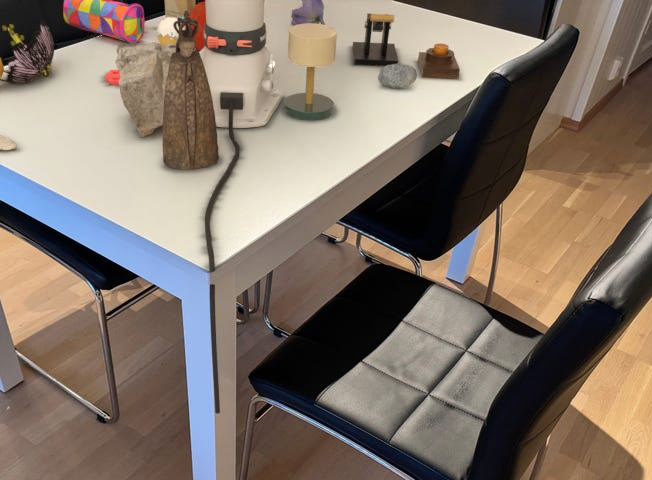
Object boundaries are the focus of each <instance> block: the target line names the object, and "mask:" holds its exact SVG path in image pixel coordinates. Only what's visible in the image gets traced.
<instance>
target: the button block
mask: <svg viewBox="0 0 652 480" xmlns="http://www.w3.org/2000/svg"><path fill="white" fill-rule="evenodd" d="M433 50H434V47H429V48H427V49H426V51H419V52H418V55H417V56H418V57H417V64H418V68H419V71H420V75H421V78H428V79H447V80H448V79H450V80H459V75H460V71H461V69H460V67H459V64H458V62H457V59H456V56H455V51H453V50H451V49H450V48H448V53H447V55H438V54H434V53H433Z"/></svg>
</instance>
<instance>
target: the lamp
mask: <svg viewBox="0 0 652 480" xmlns="http://www.w3.org/2000/svg"><path fill="white" fill-rule="evenodd" d="M337 36H338V31H337V30H336V28H334V27H332V26H330V25H326V24H325V25H323V24H321V23H319V24H314V23H305V24H298V25H294V26H293V25H291V26H290V27H289V29H288V36H287V37H288V42H287V59H288V61H289V62H290V63H292V64H294V65H297V66H300V67H301V66H302V67H306V73H305V74H306V75H305V92H298V93H294V94H291V95H288V96H287V97H285V98H284V100H283V112H284V113H285V114H286V115H287V116H288V117H291V118H294V119H297V120H300V121H321V120H325V119H328V118H329V117H331V116H333V114H334V111H335V101H334V100H333V99H332V98H331V97H329V96H327V95H324V94H321V93H316V92H315V76H316V68H321V67H326V66H327V67H328V66H329V65H332V64H333V63H334V62H335V61H336V53H337V52H336V51H337V38H338V37H337Z"/></svg>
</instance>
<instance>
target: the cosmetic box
mask: <svg viewBox="0 0 652 480" xmlns="http://www.w3.org/2000/svg"><path fill="white" fill-rule="evenodd" d="M196 3H197V1H196V0H164V15H165V18H167V17H172V18H177V19H178V17H182V16H184V13H185V12H184V11H188V13H189V16H188V17H190V15H191V12H192V10H193V9H194V7H195V6H196V5H197V4H196ZM184 18H185V17H184ZM185 27H186V26H185Z"/></svg>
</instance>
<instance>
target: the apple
mask: <svg viewBox="0 0 652 480" xmlns="http://www.w3.org/2000/svg"><path fill="white" fill-rule="evenodd" d="M189 18H191V19H192V20H193V19H194V20H197V22H198V26H199V30H198V32H197V33H196V35H195V36H194V40H195V41H196V43H195V46H194V49H196V50H198V51H199V52H200V51H201V50H202V49H203V48H204V47H205V44H204V23H205V22H206V6H205V1H200V2H197V4H196V6H195V7H194V9H193V10H192V12H191V15H190V17H189ZM191 19H190V20H191ZM193 23H195V22H193ZM191 27H192V30H193V29H194V27H195V26H193V25H191Z"/></svg>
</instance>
